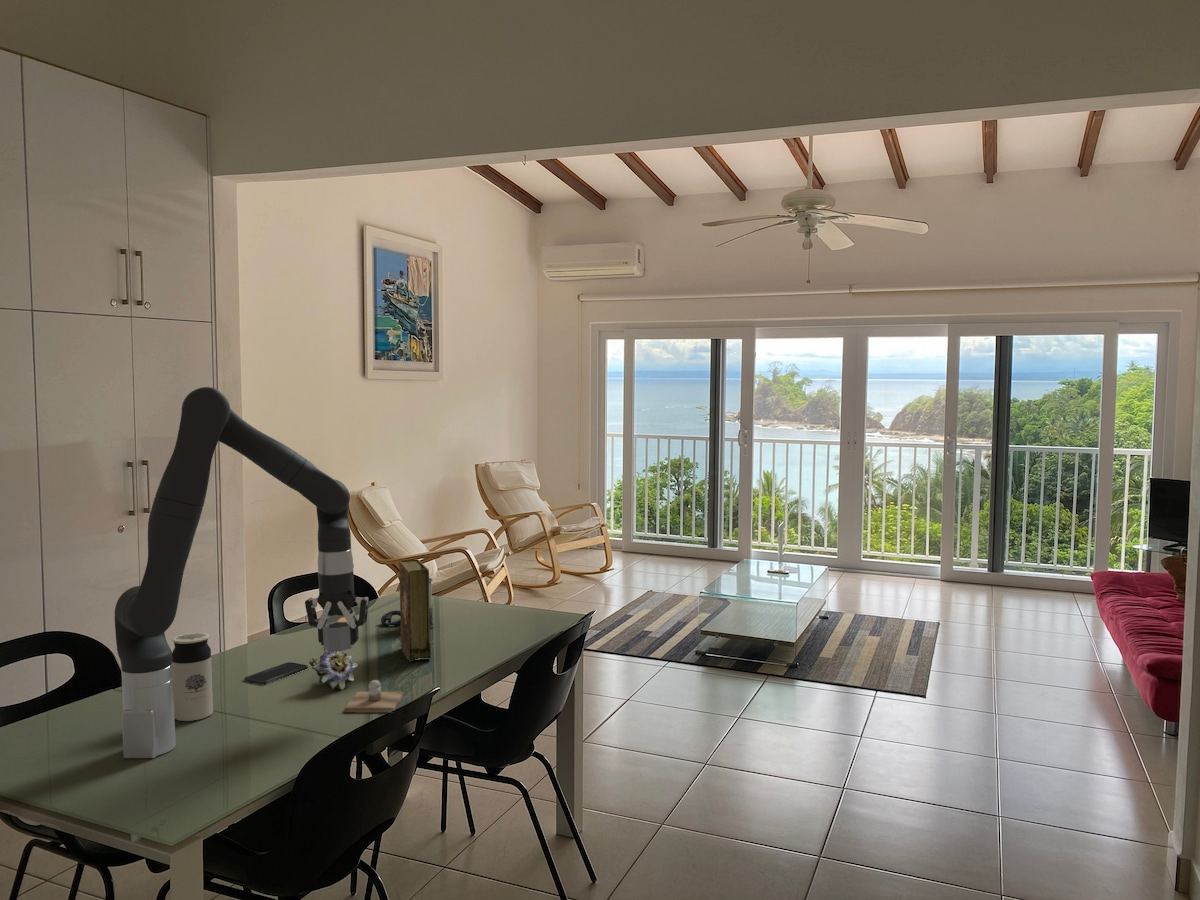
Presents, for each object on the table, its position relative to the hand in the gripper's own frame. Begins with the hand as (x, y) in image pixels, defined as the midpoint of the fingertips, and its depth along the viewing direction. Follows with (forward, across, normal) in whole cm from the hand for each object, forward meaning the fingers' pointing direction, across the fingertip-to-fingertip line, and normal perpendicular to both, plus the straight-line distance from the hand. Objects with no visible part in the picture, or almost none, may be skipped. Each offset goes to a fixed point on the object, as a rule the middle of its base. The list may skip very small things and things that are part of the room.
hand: (338, 643), depth 198 cm
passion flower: (+17, -8, +20) cm, 27 cm away
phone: (+17, -25, +29) cm, 42 cm away
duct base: (+16, +6, +7) cm, 19 cm away
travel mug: (+16, -33, 0) cm, 37 cm away
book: (+17, +7, +46) cm, 49 cm away
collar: (+1, 0, +2) cm, 2 cm away
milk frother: (+17, -2, +75) cm, 77 cm away
